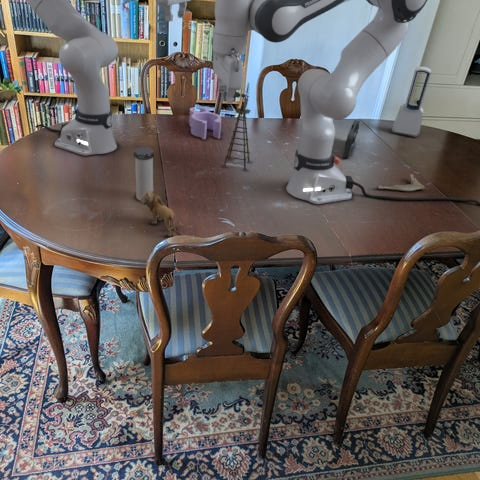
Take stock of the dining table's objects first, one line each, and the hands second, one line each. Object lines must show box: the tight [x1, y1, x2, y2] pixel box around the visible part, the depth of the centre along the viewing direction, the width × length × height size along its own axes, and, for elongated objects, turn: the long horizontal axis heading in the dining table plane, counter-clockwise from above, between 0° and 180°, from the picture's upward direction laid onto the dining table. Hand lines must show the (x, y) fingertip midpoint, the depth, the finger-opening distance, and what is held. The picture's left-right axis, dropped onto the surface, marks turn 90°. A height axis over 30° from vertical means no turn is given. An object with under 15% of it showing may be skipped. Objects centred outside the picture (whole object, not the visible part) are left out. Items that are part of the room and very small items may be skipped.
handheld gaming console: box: [342, 119, 361, 159], centre depth 194 cm, size 23×3×10 cm, turn 161°
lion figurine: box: [140, 190, 182, 237], centre depth 130 cm, size 15×5×9 cm, turn 50°
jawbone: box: [376, 173, 426, 193], centre depth 169 cm, size 9×20×2 cm, turn 126°
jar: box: [134, 157, 154, 202], centre depth 142 cm, size 5×5×15 cm
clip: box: [188, 106, 222, 140], centre depth 199 cm, size 20×12×7 cm, turn 23°
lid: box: [133, 146, 155, 160], centre depth 138 cm, size 6×6×2 cm
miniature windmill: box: [223, 82, 252, 171], centre depth 166 cm, size 9×8×30 cm
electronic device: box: [391, 66, 432, 138], centre depth 214 cm, size 12×8×30 cm, turn 71°
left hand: (175, 19), depth 144 cm, fingers open, 8 cm apart
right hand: (225, 97), depth 131 cm, fingers open, 8 cm apart
